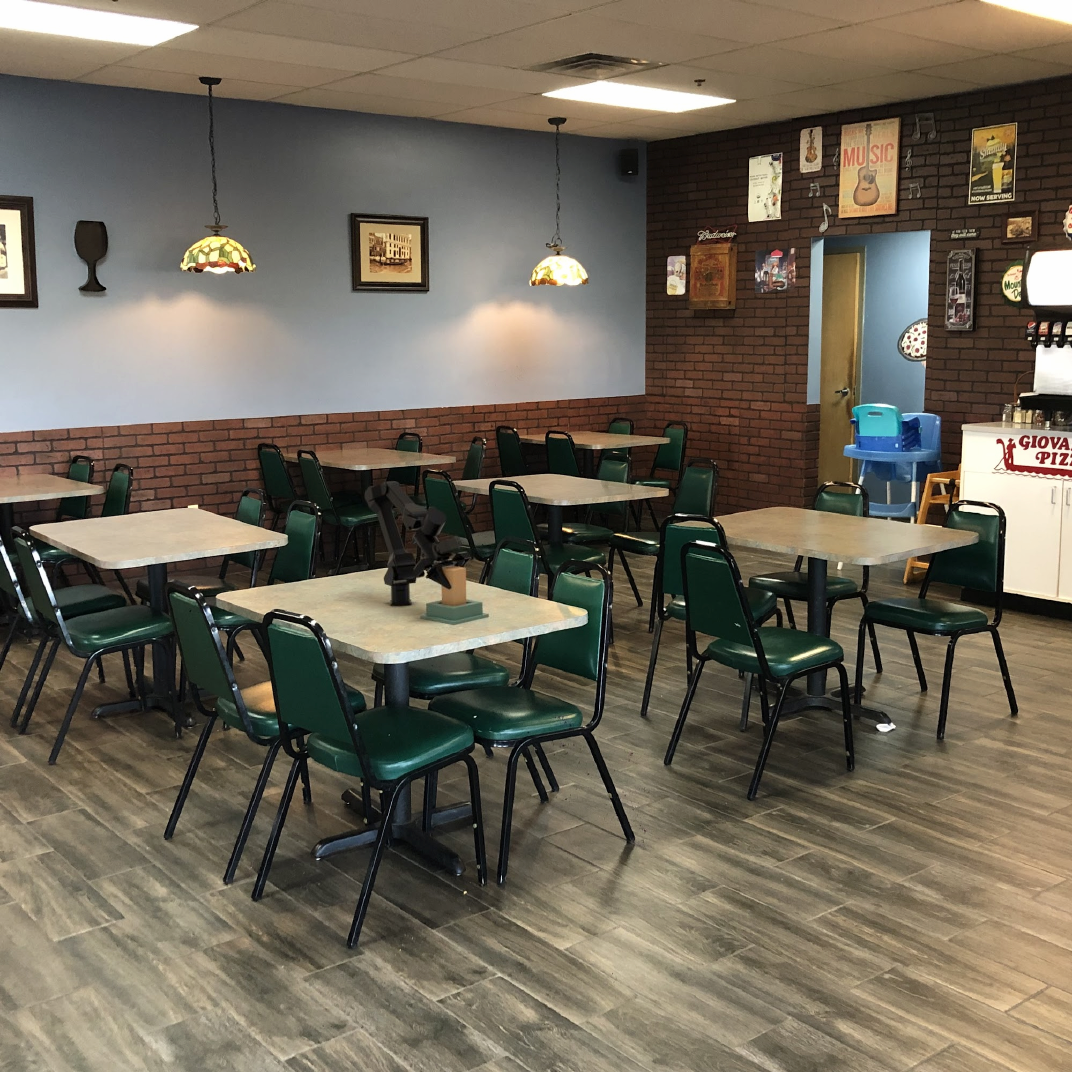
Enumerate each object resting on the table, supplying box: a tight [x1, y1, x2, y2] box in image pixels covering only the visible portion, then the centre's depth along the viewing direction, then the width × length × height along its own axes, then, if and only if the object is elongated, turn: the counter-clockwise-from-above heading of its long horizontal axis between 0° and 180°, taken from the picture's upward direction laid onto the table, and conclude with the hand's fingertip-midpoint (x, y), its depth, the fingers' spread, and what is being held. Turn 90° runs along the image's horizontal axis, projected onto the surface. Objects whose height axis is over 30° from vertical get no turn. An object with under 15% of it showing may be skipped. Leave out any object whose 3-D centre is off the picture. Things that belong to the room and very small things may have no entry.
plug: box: [441, 566, 467, 606], centre depth 349 cm, size 5×5×12 cm
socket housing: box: [419, 598, 490, 626], centre depth 350 cm, size 14×14×4 cm
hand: (457, 587), depth 348 cm, fingers closed on plug, 5 cm apart
